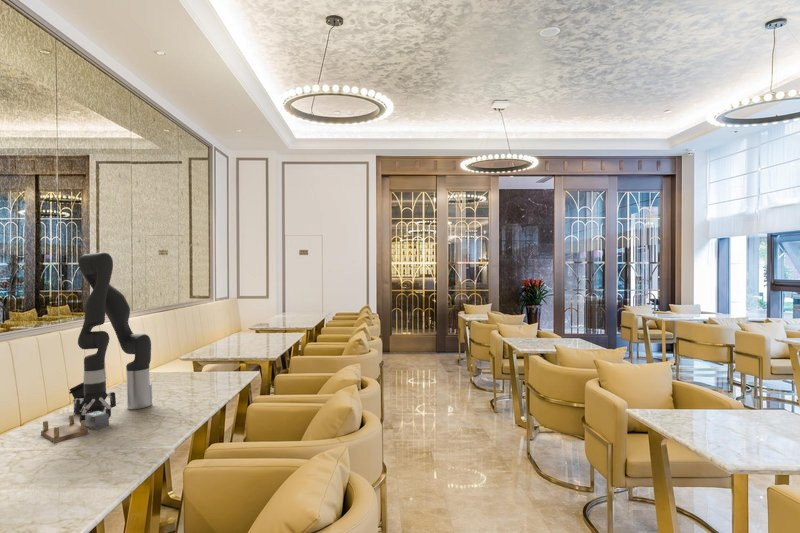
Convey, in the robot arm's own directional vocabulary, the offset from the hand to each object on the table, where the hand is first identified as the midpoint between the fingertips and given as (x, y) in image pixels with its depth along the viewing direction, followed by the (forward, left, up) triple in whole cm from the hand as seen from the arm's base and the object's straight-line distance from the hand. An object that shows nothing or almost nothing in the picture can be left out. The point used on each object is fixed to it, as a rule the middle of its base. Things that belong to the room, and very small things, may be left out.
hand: (95, 421), depth 188 cm
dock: (+11, 0, -2) cm, 11 cm away
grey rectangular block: (0, 0, -2) cm, 2 cm away
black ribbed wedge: (-6, -28, -2) cm, 29 cm away
